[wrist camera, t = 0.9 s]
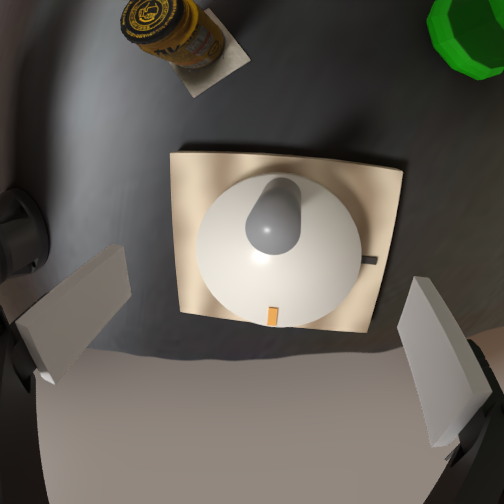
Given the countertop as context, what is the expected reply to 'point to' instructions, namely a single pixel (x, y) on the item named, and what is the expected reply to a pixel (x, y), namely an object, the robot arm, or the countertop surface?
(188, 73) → the condiment
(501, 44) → the plastic bottle
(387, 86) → the countertop surface
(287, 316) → the dial
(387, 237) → the dial panel
